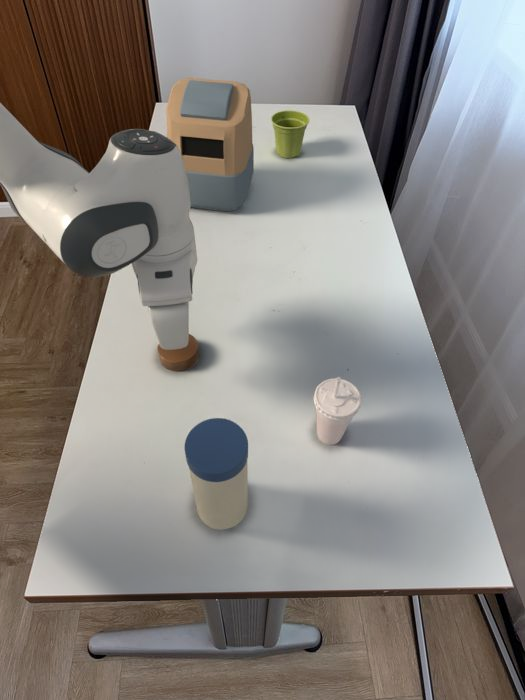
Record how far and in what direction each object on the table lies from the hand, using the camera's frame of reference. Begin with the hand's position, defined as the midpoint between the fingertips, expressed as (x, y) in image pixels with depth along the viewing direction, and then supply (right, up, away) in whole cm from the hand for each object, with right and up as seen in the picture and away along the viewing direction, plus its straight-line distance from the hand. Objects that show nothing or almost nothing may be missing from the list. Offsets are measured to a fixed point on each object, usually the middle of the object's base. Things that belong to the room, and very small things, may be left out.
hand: (176, 322), depth 78 cm
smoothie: (+23, -17, -3) cm, 29 cm away
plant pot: (+20, +46, +50) cm, 71 cm away
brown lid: (0, -5, +6) cm, 8 cm away
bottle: (+8, -25, -11) cm, 28 cm away
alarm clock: (+2, +32, +38) cm, 49 cm away
